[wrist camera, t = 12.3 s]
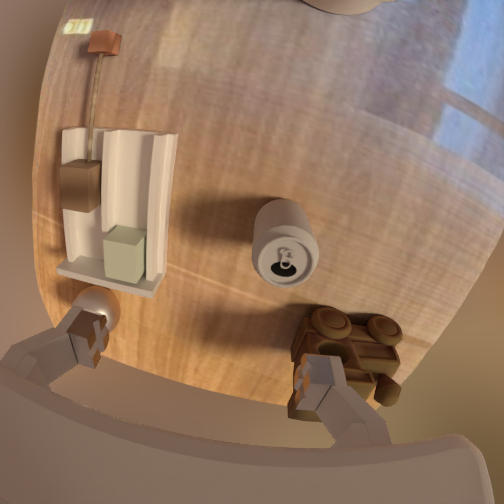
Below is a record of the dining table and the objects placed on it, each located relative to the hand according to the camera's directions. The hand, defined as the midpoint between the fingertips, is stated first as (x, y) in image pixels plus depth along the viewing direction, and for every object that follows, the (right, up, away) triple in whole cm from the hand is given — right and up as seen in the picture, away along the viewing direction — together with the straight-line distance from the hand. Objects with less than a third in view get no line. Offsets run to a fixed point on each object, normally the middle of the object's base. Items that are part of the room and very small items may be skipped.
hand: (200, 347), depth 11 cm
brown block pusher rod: (-19, +23, +24) cm, 38 cm away
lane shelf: (-18, +11, +30) cm, 37 cm away
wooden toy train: (+18, -11, +40) cm, 45 cm away
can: (+6, +8, +31) cm, 32 cm away
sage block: (-16, +5, +31) cm, 35 cm away
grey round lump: (-25, -4, +39) cm, 46 cm away
